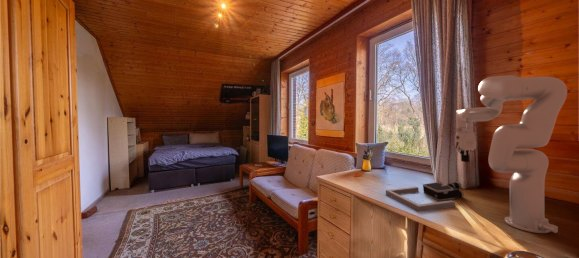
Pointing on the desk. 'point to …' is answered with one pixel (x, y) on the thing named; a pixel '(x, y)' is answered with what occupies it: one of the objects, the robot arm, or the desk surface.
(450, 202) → the stand
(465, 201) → the desk surface
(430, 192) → the film camera
